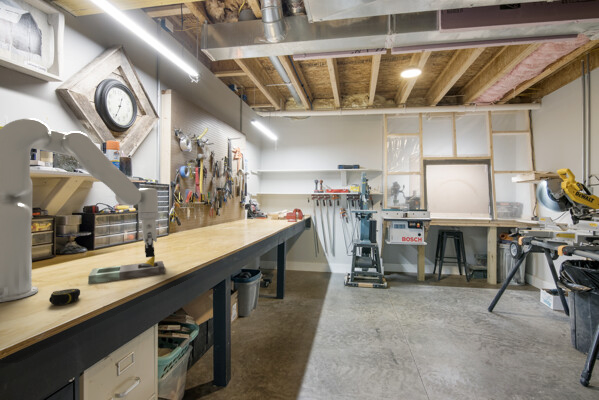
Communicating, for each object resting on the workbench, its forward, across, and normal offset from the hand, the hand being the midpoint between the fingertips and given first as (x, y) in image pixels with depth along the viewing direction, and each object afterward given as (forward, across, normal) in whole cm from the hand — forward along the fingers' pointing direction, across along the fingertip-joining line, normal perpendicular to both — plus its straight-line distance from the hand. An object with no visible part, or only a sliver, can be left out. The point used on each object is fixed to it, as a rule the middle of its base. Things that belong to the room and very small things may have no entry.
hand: (149, 254), depth 116 cm
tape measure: (+7, -24, +25) cm, 35 cm away
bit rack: (+7, 0, +8) cm, 11 cm away
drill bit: (+8, 0, +1) cm, 8 cm away
